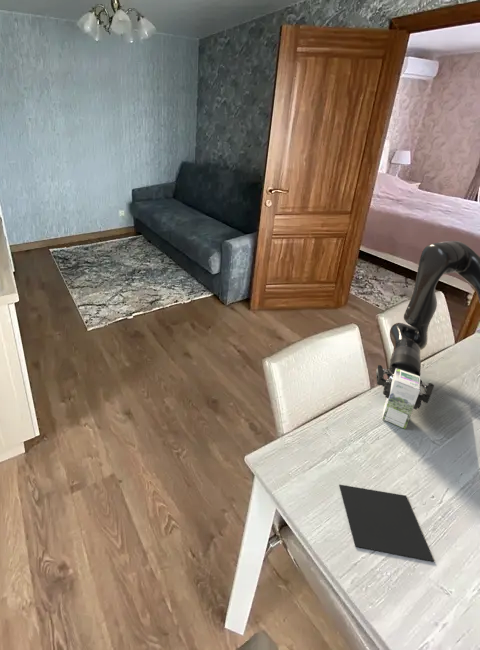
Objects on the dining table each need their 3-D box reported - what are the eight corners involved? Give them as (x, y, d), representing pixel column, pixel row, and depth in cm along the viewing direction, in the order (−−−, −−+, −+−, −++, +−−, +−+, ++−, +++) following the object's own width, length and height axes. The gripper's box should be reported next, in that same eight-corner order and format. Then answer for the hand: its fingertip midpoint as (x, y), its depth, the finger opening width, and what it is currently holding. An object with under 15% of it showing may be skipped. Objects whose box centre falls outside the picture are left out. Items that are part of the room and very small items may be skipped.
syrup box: (406, 415, 96) (421, 375, 91) (405, 430, 92) (420, 389, 86) (383, 406, 99) (396, 366, 94) (381, 420, 95) (394, 379, 89)
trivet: (405, 496, 76) (406, 495, 76) (433, 562, 65) (434, 561, 65) (339, 485, 78) (339, 484, 78) (355, 546, 67) (355, 546, 67)
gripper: (381, 345, 105) (373, 378, 93) (438, 363, 98) (439, 402, 85) (375, 364, 108) (367, 399, 95) (430, 384, 101) (430, 424, 88)
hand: (401, 400), depth 90 cm, fingers closed on syrup box, 5 cm apart
